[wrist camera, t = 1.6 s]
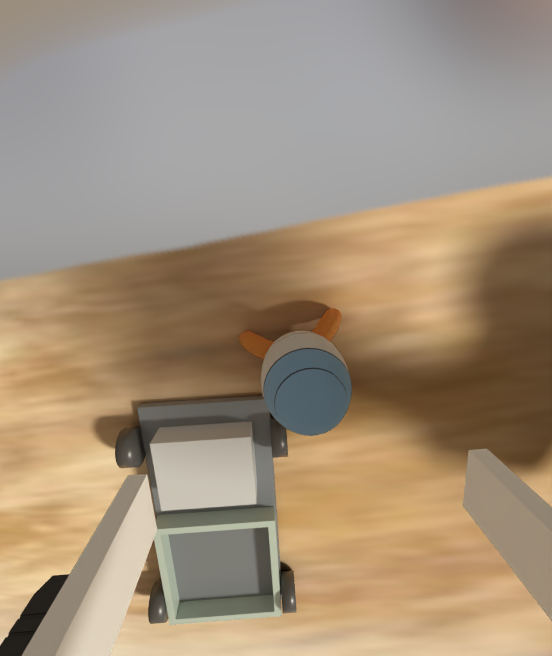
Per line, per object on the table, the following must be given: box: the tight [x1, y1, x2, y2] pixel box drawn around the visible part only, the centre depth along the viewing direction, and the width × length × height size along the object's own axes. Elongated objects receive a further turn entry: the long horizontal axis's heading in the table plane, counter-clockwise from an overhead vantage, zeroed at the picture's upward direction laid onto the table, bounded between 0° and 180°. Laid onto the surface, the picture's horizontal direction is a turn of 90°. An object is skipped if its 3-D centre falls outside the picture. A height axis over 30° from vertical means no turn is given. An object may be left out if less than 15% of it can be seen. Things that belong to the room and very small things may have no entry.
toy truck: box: [115, 395, 296, 625], centre depth 37 cm, size 17×28×4 cm, turn 3°
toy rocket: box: [239, 308, 352, 436], centre depth 28 cm, size 10×11×15 cm
